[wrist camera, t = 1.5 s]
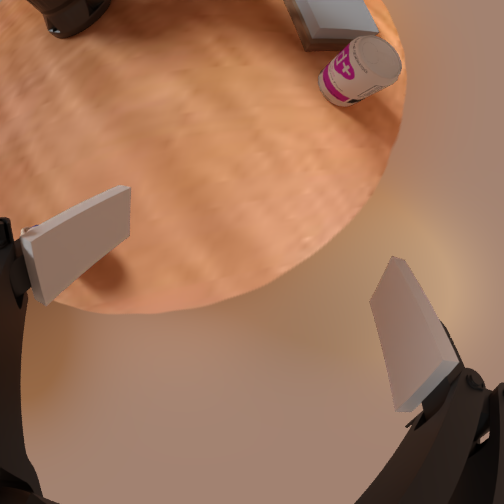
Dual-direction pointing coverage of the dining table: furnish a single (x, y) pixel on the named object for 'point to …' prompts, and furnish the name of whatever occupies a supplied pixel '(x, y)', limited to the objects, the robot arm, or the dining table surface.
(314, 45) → the tower base slab
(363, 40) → the supplement can
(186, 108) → the dining table surface
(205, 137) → the dining table surface
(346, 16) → the tower top slab
